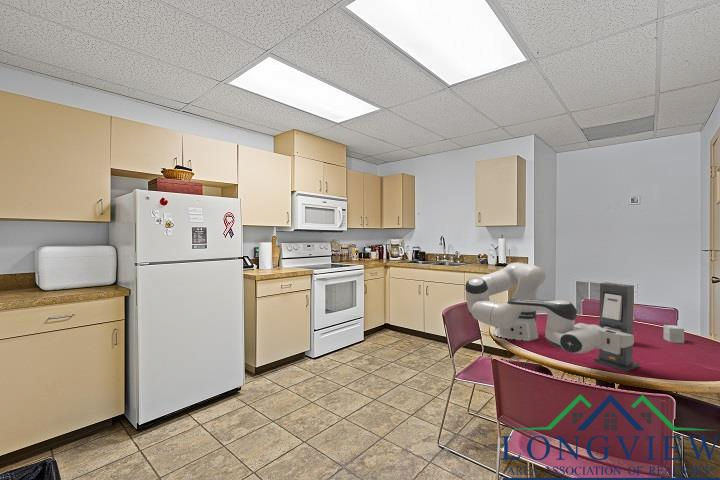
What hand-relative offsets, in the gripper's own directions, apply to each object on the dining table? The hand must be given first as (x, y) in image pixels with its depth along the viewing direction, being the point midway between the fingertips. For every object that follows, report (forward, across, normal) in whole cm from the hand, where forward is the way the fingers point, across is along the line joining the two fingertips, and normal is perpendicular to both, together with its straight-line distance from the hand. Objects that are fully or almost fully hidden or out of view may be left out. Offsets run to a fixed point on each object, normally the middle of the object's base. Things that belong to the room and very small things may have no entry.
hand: (611, 330), depth 140 cm
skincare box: (+62, -2, -16) cm, 64 cm away
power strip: (+3, 0, -15) cm, 16 cm away
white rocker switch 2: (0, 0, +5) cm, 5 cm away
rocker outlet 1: (0, 0, -9) cm, 9 cm away
